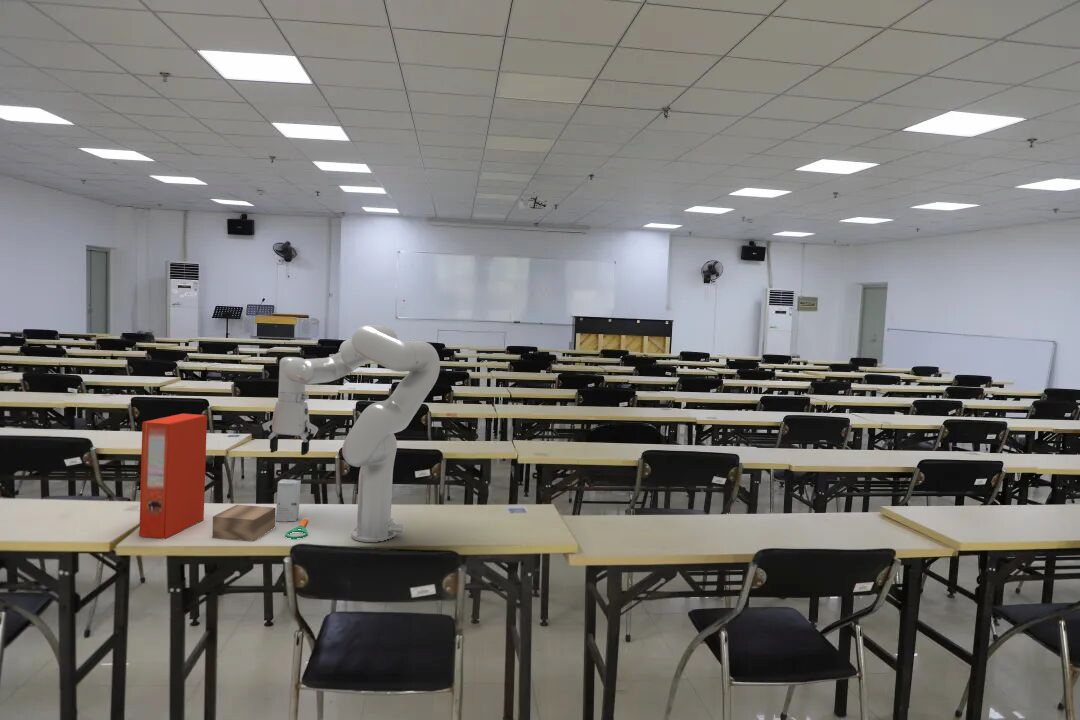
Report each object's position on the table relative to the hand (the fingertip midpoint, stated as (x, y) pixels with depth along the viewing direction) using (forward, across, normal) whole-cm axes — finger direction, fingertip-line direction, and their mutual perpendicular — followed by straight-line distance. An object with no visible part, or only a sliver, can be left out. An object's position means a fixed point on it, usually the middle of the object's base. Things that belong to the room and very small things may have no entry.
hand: (289, 452), depth 196 cm
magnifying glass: (+21, -8, +9) cm, 24 cm away
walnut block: (+21, +6, +14) cm, 26 cm away
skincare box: (+21, 0, 0) cm, 21 cm away
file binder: (+21, +26, +15) cm, 37 cm away
